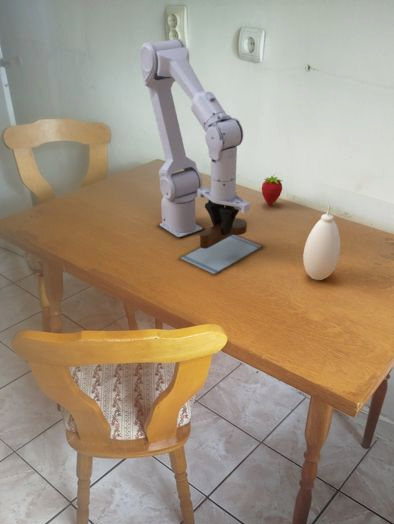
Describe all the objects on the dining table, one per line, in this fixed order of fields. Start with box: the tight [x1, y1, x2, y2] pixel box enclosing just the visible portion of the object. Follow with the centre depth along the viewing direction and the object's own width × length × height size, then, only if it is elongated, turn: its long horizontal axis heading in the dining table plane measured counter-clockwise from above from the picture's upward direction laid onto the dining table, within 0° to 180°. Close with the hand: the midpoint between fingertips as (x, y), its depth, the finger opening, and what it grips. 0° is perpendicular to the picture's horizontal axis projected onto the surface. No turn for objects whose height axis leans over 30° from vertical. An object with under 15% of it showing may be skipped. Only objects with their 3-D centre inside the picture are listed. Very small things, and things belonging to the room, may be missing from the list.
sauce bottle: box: [302, 203, 341, 281], centre depth 111 cm, size 8×8×18 cm
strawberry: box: [261, 172, 283, 207], centre depth 145 cm, size 6×8×10 cm
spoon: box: [199, 217, 248, 249], centre depth 123 cm, size 15×6×3 cm, turn 136°
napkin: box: [180, 235, 262, 275], centre depth 126 cm, size 11×18×1 cm, turn 137°
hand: (222, 232), depth 123 cm, fingers closed on spoon, 2 cm apart
